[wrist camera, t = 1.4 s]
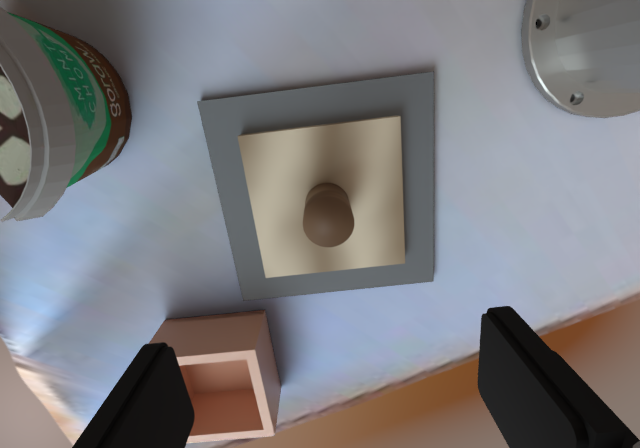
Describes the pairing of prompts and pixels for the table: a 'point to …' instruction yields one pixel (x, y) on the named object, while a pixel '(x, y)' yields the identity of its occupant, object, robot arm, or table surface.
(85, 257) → the table surface
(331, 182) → the lid
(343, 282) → the mat
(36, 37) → the food container
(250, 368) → the open square bin
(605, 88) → the robot arm
